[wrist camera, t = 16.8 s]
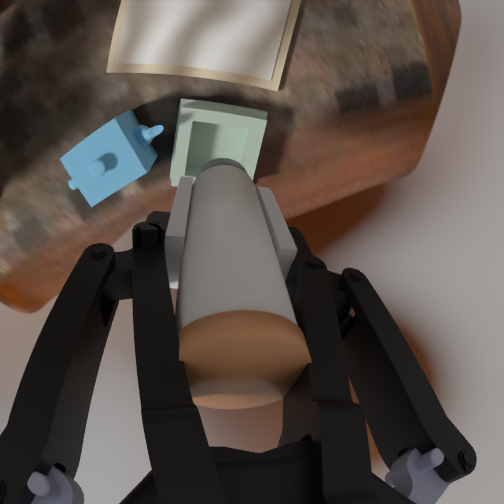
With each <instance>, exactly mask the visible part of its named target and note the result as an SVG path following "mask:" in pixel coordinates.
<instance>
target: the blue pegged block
mask: <svg viewBox="0 0 504 504" xmlns="http://www.w3.org/2000/svg"><path fill="white" fill-rule="evenodd" d="M163 129H164V127H163V126H162V125H157V126H154V127H152V128H149V127H147V126H145V125H140V124H139V122H138V120H137V118H136V116H135V115H134V113H133V111H132V109H131V110H129V111H127V112H125V113H123V114H121V115H119V116H117V117H115V118H114V119H112V120H111V121H109V122H108V123H106V124H105V125H103V126H102V127H100V128H99V129H98V130H96V131H95V132H93V133H92V134H91V135H89V136H88V137H87V138H85V139H84V140H83V141H81V142H80V143H79V144H77V145H76V146H75V147H74V148H72V149H71V150H70V151H69V152H67V153H66V154H65V155H64V156H62V157H61V158H60V160H61V162H62V163H63V165H64V167H65V168H66V170H67V171H68V173H69V175H70V176H71V178H72V179H71V180H69V182H68V184H69V186H70V188H71V189H72V190H74V189H76V188H79V190H80V191H81V193H82V194H83V196H84V197H85V198H86V200H87V201H88V203H89V204H90V206H91V207H92V206H94V205H95V204H97V203H98V202H100V201H102V200H103V199H105V198H106V197H108V196H109V195H111V194H113V193H114V192H116V191H117V190H119V189H121V188H122V187H124V186H126V185H127V184H129V183H131V182H132V181H134V180H136V179H137V178H139V177H141V176H142V175H144V174H146V173H148V172H149V170H150V168H151V166H152V165H153V163H154V161H155V160H156V158H157V156H158V155H157V153H156V151H155V150H154V148H153V146H152V144H151V142H152V140H153V137H155V136H157V135H159V134H160V133H161V132H162V131H163Z"/></svg>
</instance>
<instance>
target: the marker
mask: <svg viewBox="0 0 504 504" xmlns="http://www.w3.org/2000/svg"><path fill="white" fill-rule="evenodd" d="M175 321H176V326H177V332H178V337H179V342H180V346H179V361H184V366H185V370H186V375H187V379H188V384H189V388H190V392H191V396H192V400H193V402H194V404H198V405H201V406H205V407H210V408H218V409H242V408H250V407H257V406H261V405H266V404H269V403H272V402H275V401H278V400H281V399H283V398H284V397H285V396H286V394H287V393H288V391H289V390H290V389H291V387H292V386H293V384H294V383H295V382H296V380H297V379H298V377H299V376H300V374H301V373H302V372H303V370H304V369H305V367H306V366H307V364H308V363H312V361H311V358H310V354H309V351H308V347H307V344H306V340H305V337H304V334H303V332H302V330H301V329H300V328H299V327H298V325H297V321H296V318H295V314H294V311H293V308H292V304H291V301H290V298H289V294H288V291H287V288H286V284H285V281H284V278H283V274H282V271H281V268H280V265H279V261H278V258H277V255H276V252H275V248H274V245H273V242H272V239H271V235H270V232H269V229H268V226H267V223H266V220H265V216H264V213H263V210H262V207H261V204H260V201H259V198H258V194H257V191H256V188H255V185H254V183H253V181H252V179H251V178H250V176H249V175H248V174H247V172H246V170H245V168H244V167H243V166H242V165H241V164H240V163H238V162H237V161H235V160H232V159H229V158H217V159H213V160H211V161H209V162H207V163H206V164H204V165H203V166H202V167H201V169H200V170H199V171H198V173H197V176H196V179H195V181H194V183H193V185H192V191H191V198H190V204H189V211H188V218H187V225H186V233H185V240H184V249H183V253H182V256H181V263H180V272H179V281H178V291H177V301H176V312H175Z"/></svg>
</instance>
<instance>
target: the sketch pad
mask: <svg viewBox="0 0 504 504" xmlns="http://www.w3.org/2000/svg"><path fill="white" fill-rule="evenodd" d="M300 3H301V0H122V1H121V4H120V8H119V12H118V16H117V20H116V24H115V29H114V33H113V38H112V43H111V48H110V54H109V59H108V65H107V72H106V73H116V72H124V73H156V74H171V75H182V76H192V77H201V78H208V79H216V80H222V81H229V82H235V83H240V84H246V85H251V86H256V87H261V88H265V89H270V90H274V91H278V88H279V84H280V80H281V76H282V72H283V68H284V64H285V60H286V56H287V52H288V49H289V45H290V41H291V37H292V33H293V30H294V26H295V22H296V18H297V14H298V11H299V7H300Z"/></svg>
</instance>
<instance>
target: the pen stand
mask: <svg viewBox="0 0 504 504" xmlns="http://www.w3.org/2000/svg"><path fill="white" fill-rule="evenodd" d="M267 114H268V112H267V111H263V110H258V109H253V108H247V107H242V106H236V105H230V104H224V103H217V102H210V101H203V100H195V99H186V98H181V101H180V107H179V113H178V119H177V126H176V133H175V140H174V147H173V155H172V163H171V172H170V179H172V184H171V186H178V184H179V181H180V177H181V176H185V177H194V178H193V183H194V181H195V179H196V176H197V173H198V171H199V170H200V169H201V167H202V166H203V165H204V164H206V163H207V162H209V161H211V160H213V159H217V158H229V159H232V160H235V161H237V162H238V163H240V164H241V165H242V166H243V167H244V168H245V170H246V172H247V174H248V175H249V176H250V178H251V179H252V181H253V177H254V173H255V169H256V165H257V160H258V156H259V152H260V148H261V144H262V140H263V136H264V131H265V127H266V123H267V120H266V118H267Z"/></svg>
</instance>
